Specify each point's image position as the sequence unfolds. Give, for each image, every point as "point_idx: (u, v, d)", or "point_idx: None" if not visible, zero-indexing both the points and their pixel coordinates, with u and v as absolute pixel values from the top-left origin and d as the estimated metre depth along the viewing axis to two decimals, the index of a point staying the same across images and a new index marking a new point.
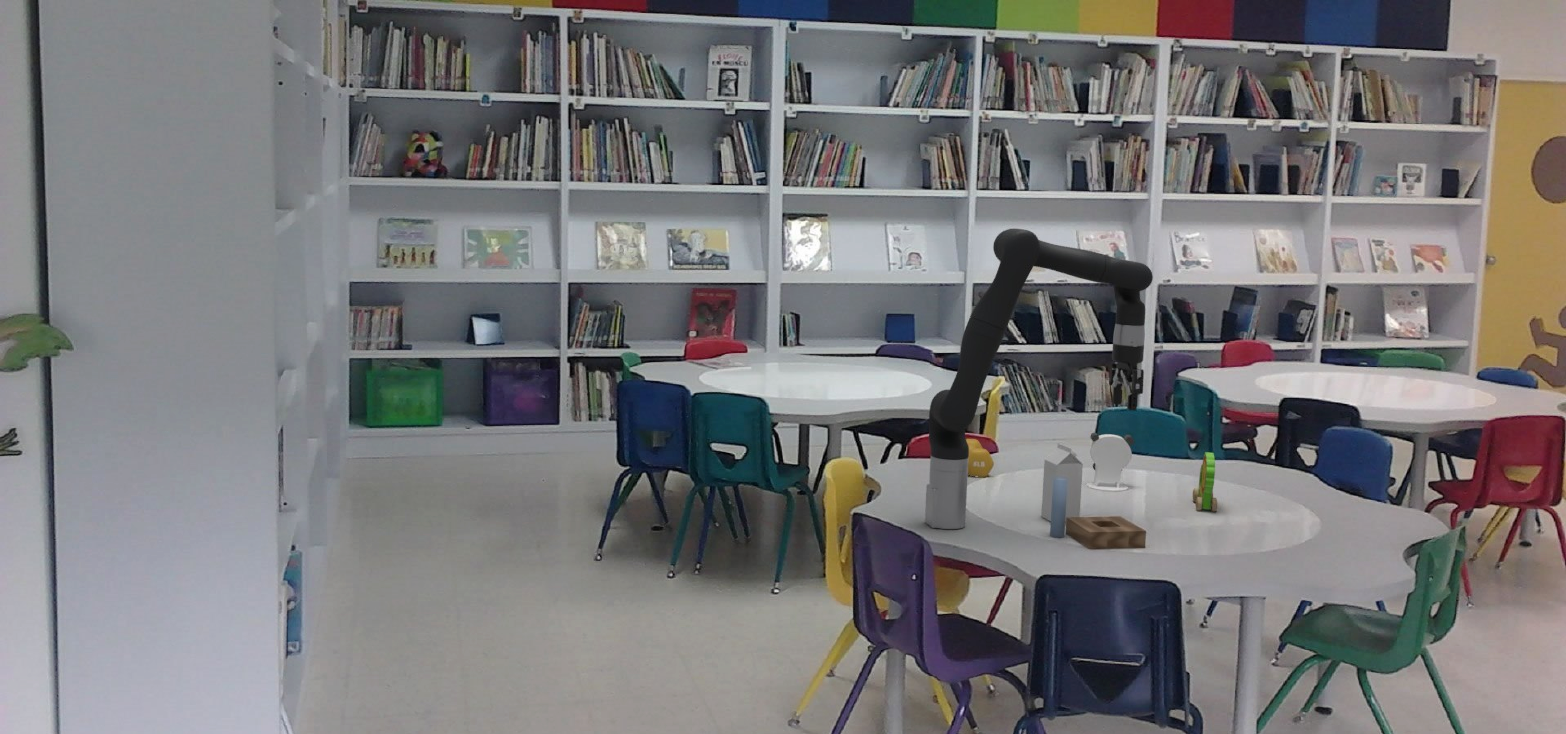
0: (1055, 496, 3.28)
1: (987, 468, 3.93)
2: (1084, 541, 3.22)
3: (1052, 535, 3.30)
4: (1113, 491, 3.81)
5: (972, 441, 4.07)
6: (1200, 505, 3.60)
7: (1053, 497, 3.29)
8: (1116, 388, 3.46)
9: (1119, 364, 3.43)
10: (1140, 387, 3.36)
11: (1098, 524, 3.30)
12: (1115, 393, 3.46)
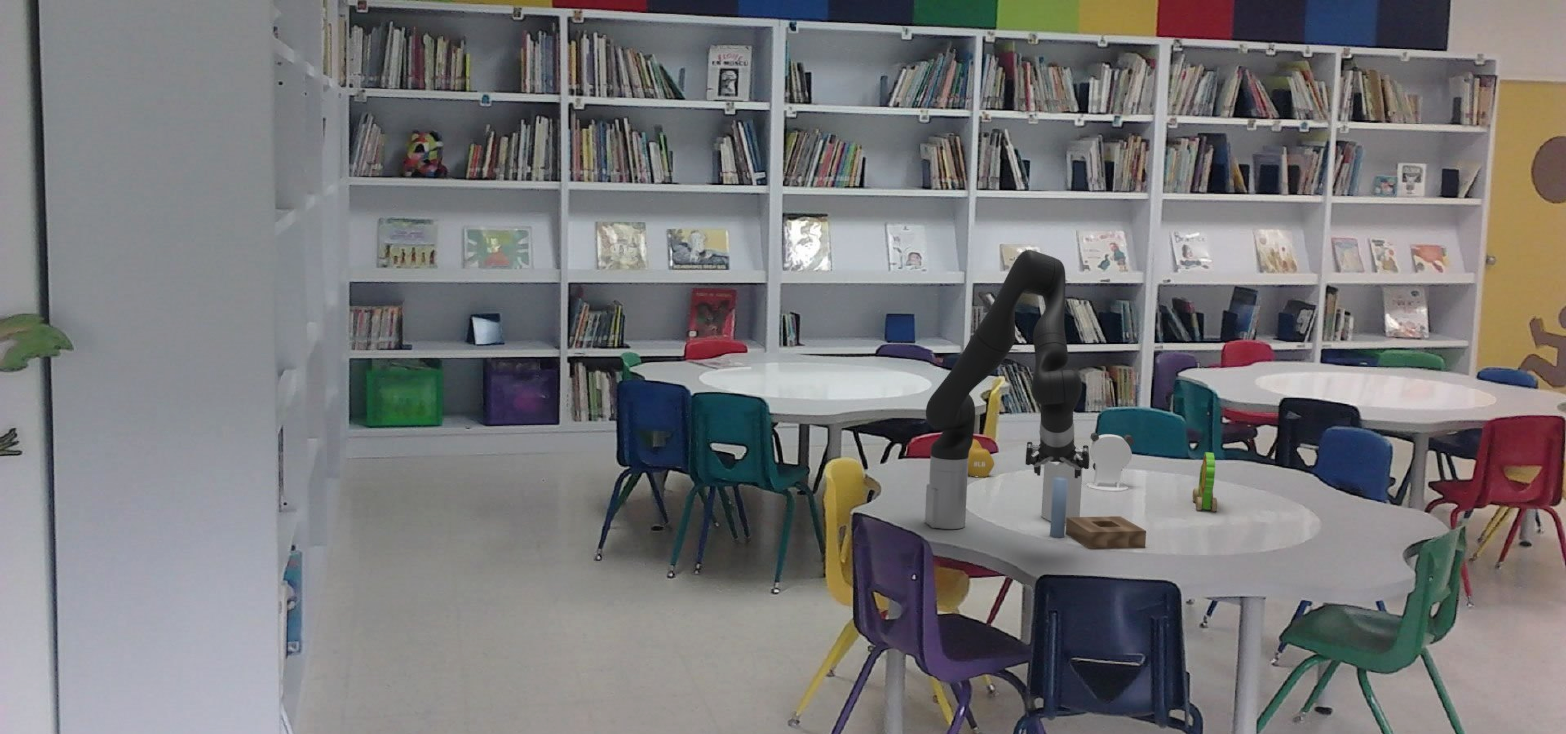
0: (1055, 496, 3.28)
1: (988, 468, 3.93)
2: (1084, 541, 3.22)
3: (1052, 535, 3.30)
4: (1113, 491, 3.81)
5: None
6: (1200, 505, 3.60)
7: (1053, 497, 3.29)
8: (1075, 463, 3.14)
9: None
10: None
11: (1098, 524, 3.30)
12: None
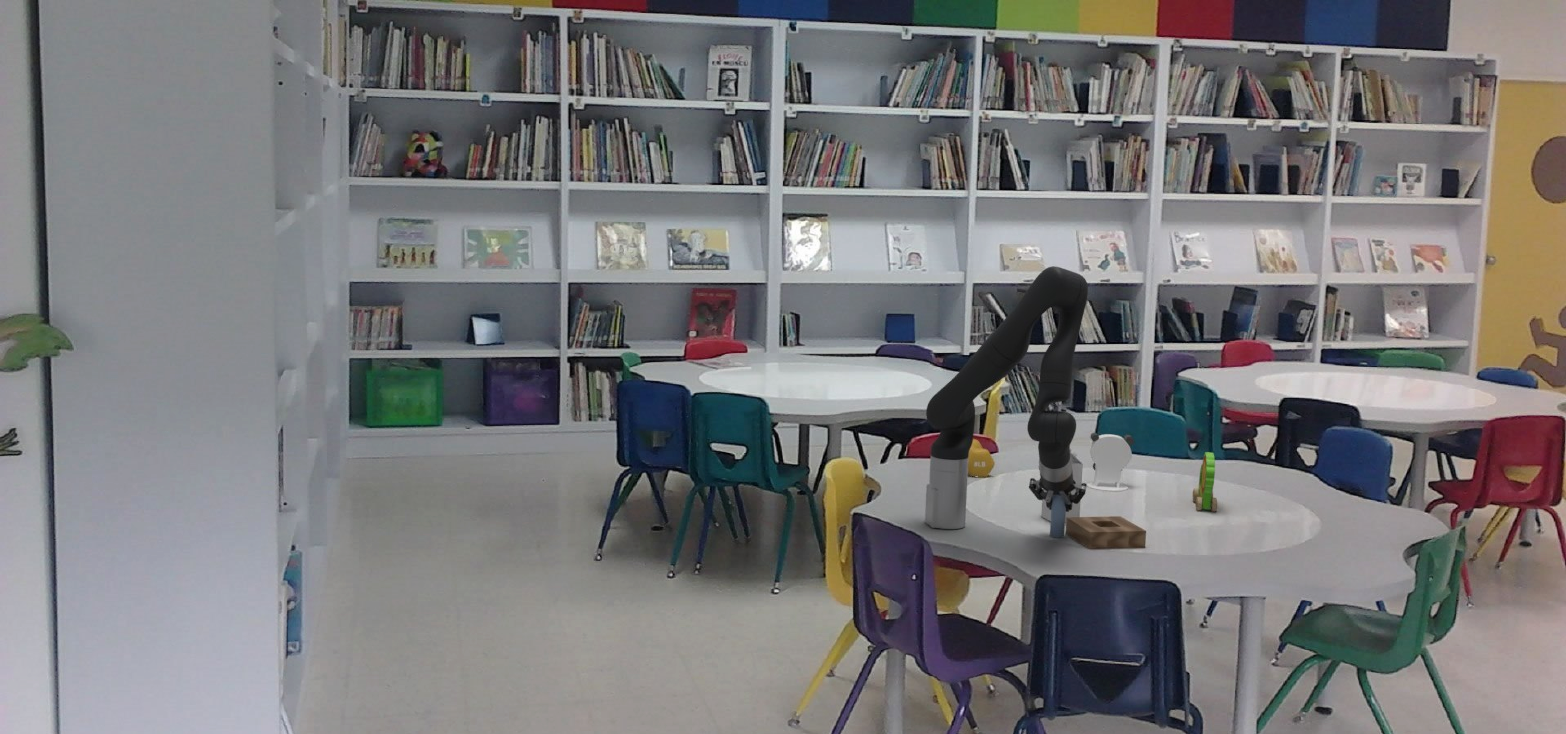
0: (1055, 496, 3.28)
1: (988, 468, 3.93)
2: (1084, 541, 3.22)
3: (1052, 535, 3.30)
4: (1113, 491, 3.81)
5: None
6: (1200, 505, 3.60)
7: (1053, 497, 3.29)
8: None
9: None
10: None
11: (1098, 524, 3.30)
12: None
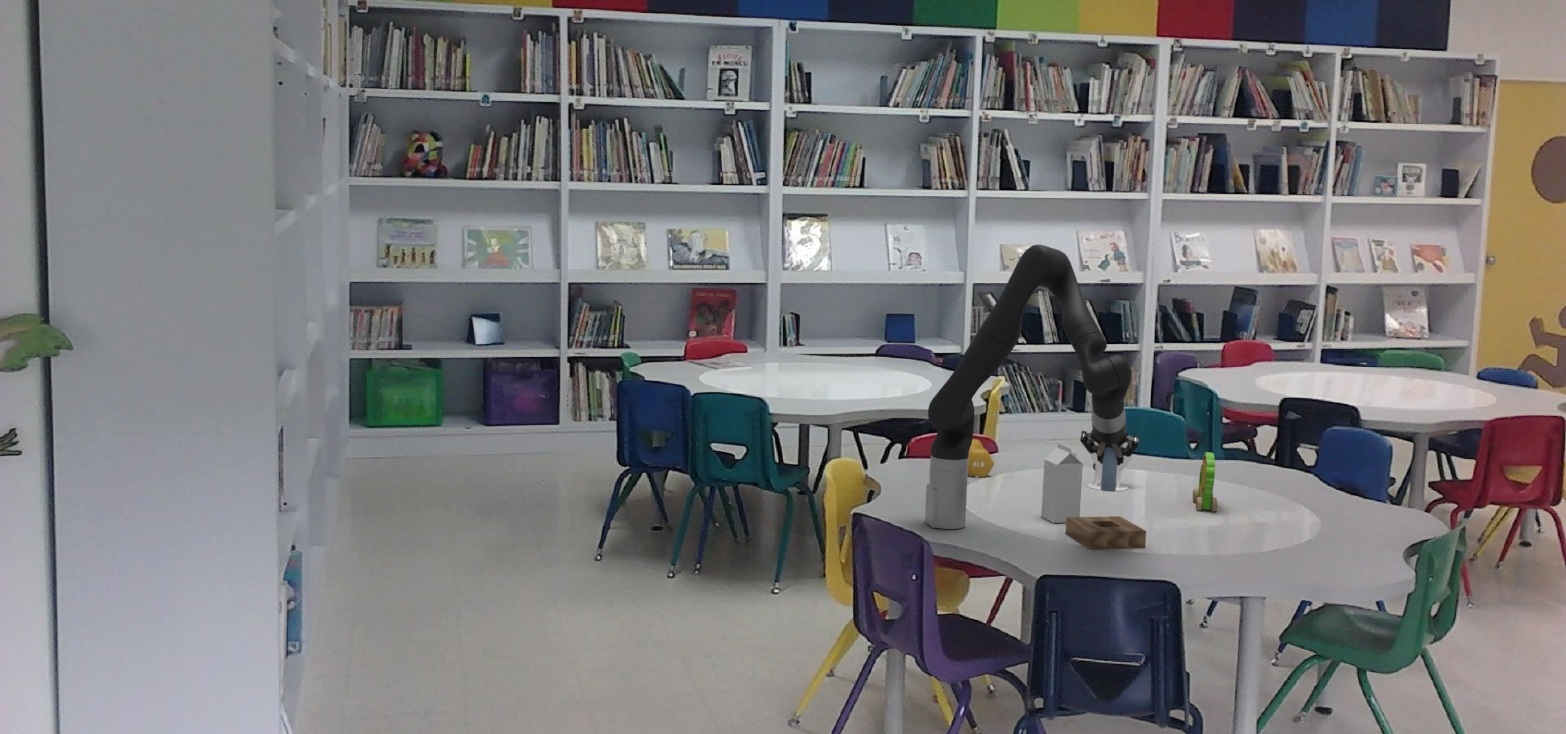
0: (1106, 449, 3.24)
1: (987, 468, 3.93)
2: (1084, 541, 3.22)
3: (1104, 489, 3.25)
4: (1113, 491, 3.81)
5: (973, 441, 4.07)
6: (1200, 505, 3.60)
7: (1104, 450, 3.24)
8: None
9: None
10: None
11: (1098, 524, 3.30)
12: None
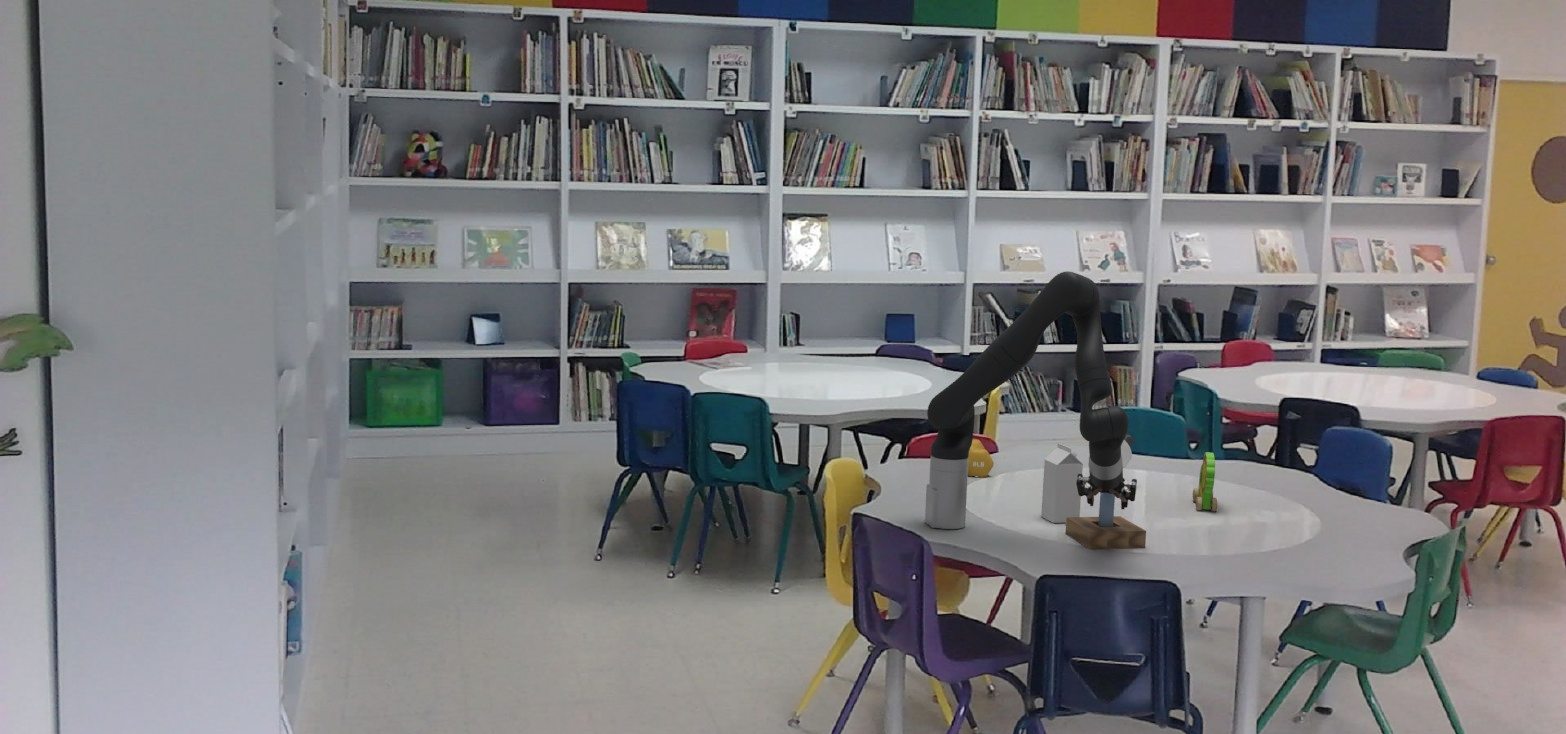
0: (1103, 501, 3.25)
1: (987, 468, 3.93)
2: (1084, 541, 3.22)
3: None
4: None
5: (974, 441, 4.07)
6: (1200, 505, 3.60)
7: (1101, 501, 3.26)
8: None
9: None
10: None
11: None
12: None
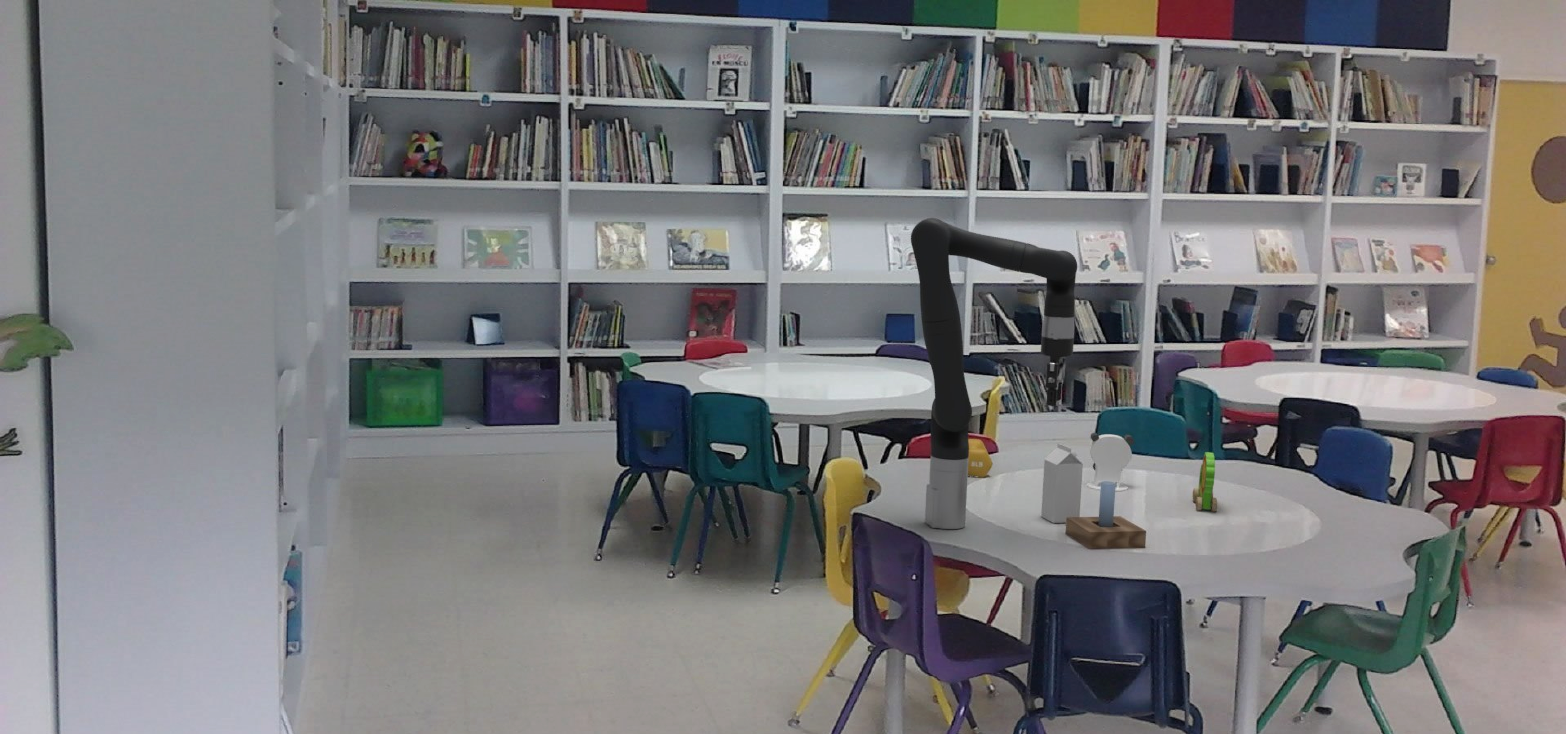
0: (1103, 501, 3.25)
1: (986, 468, 3.93)
2: (1084, 541, 3.22)
3: None
4: None
5: (975, 441, 4.07)
6: (1200, 505, 3.60)
7: (1101, 501, 3.26)
8: None
9: None
10: (1054, 381, 3.21)
11: None
12: None
